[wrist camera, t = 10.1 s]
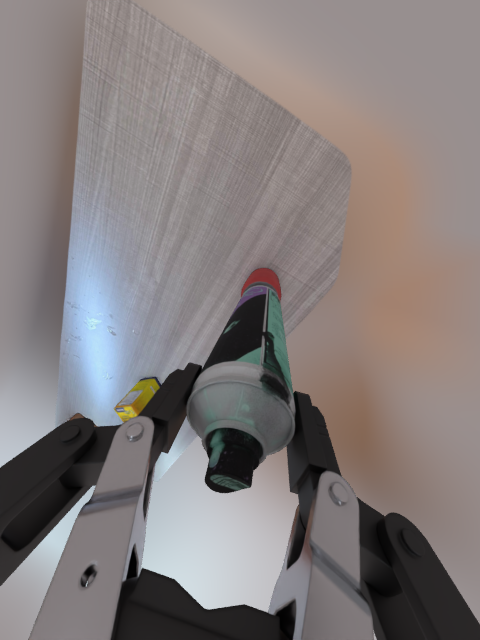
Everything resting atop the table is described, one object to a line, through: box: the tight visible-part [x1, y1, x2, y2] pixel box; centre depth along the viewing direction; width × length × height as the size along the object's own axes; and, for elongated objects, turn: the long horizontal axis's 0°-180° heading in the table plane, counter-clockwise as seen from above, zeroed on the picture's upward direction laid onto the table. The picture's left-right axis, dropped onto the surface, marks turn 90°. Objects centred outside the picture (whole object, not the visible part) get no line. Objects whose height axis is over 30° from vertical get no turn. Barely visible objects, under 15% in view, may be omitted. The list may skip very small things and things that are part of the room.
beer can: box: [241, 268, 281, 300], centre depth 32 cm, size 7×7×12 cm
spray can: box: [186, 285, 296, 493], centre depth 15 cm, size 6×6×20 cm
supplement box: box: [114, 377, 161, 422], centre depth 51 cm, size 6×6×11 cm
